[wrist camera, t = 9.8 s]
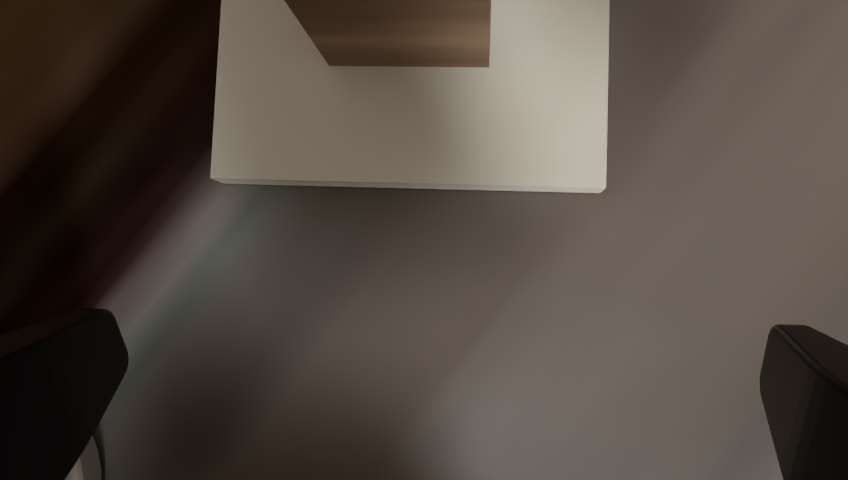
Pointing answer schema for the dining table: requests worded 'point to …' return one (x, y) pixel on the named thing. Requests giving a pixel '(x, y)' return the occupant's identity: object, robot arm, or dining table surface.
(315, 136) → the felt coaster
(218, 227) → the dining table surface
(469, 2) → the walnut block
